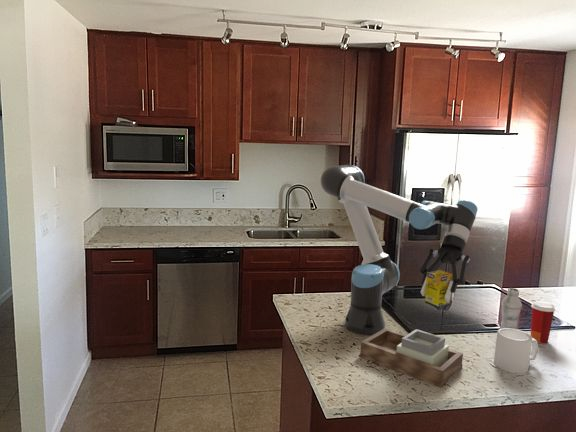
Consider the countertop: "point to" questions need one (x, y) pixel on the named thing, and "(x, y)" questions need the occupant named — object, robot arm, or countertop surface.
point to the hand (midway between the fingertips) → (434, 297)
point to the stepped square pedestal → (424, 347)
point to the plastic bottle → (511, 309)
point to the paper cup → (541, 321)
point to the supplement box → (437, 288)
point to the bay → (408, 358)
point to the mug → (514, 350)
